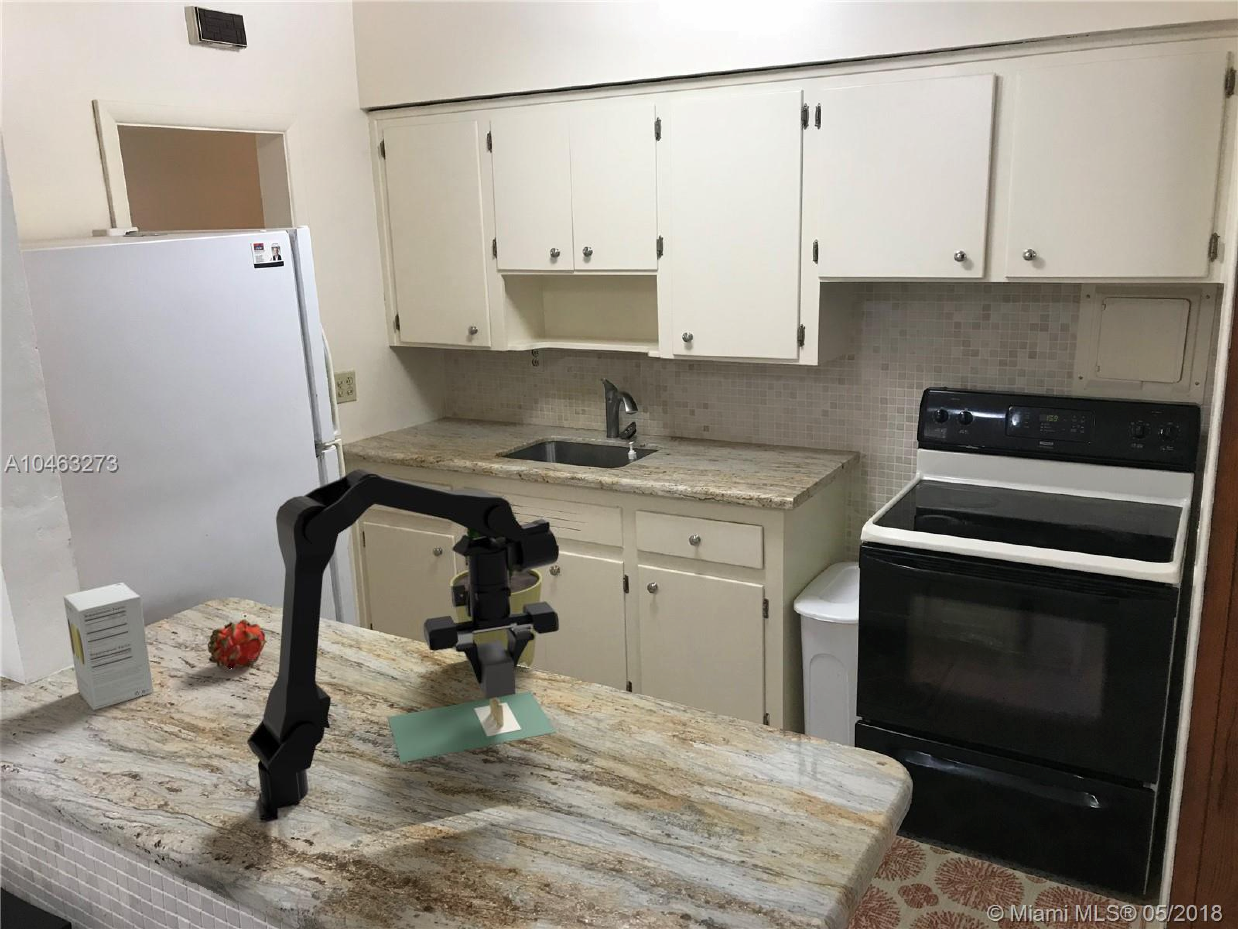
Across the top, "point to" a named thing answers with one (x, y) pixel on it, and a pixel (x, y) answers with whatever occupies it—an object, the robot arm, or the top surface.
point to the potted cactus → (522, 592)
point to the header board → (468, 726)
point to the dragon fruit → (236, 644)
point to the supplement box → (108, 645)
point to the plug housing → (496, 670)
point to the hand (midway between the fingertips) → (494, 680)
